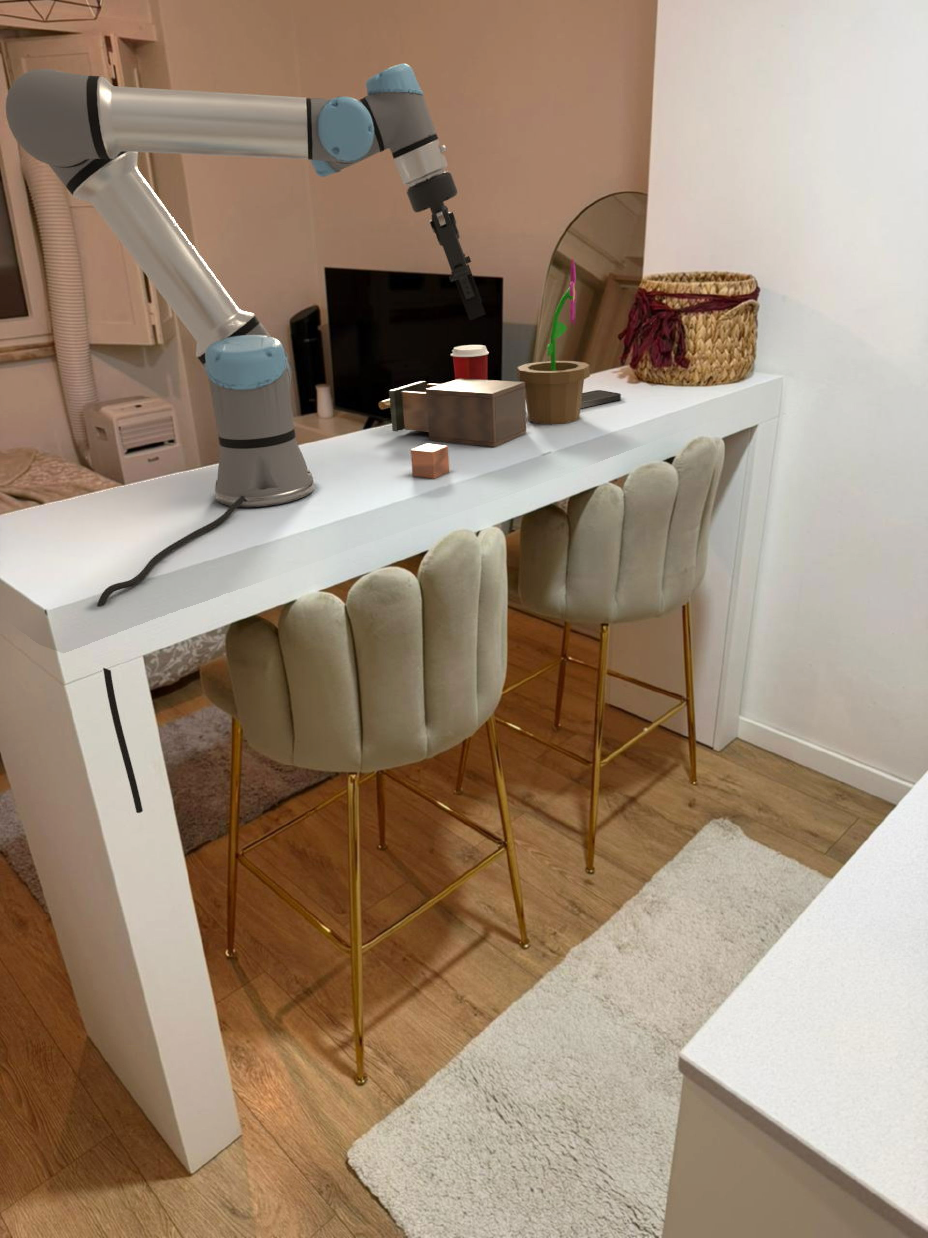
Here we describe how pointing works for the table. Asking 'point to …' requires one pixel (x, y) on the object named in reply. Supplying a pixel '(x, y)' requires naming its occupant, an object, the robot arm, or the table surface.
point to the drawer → (408, 407)
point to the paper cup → (470, 362)
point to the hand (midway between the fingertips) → (476, 310)
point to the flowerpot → (555, 376)
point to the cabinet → (476, 411)
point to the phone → (598, 398)
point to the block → (430, 461)
